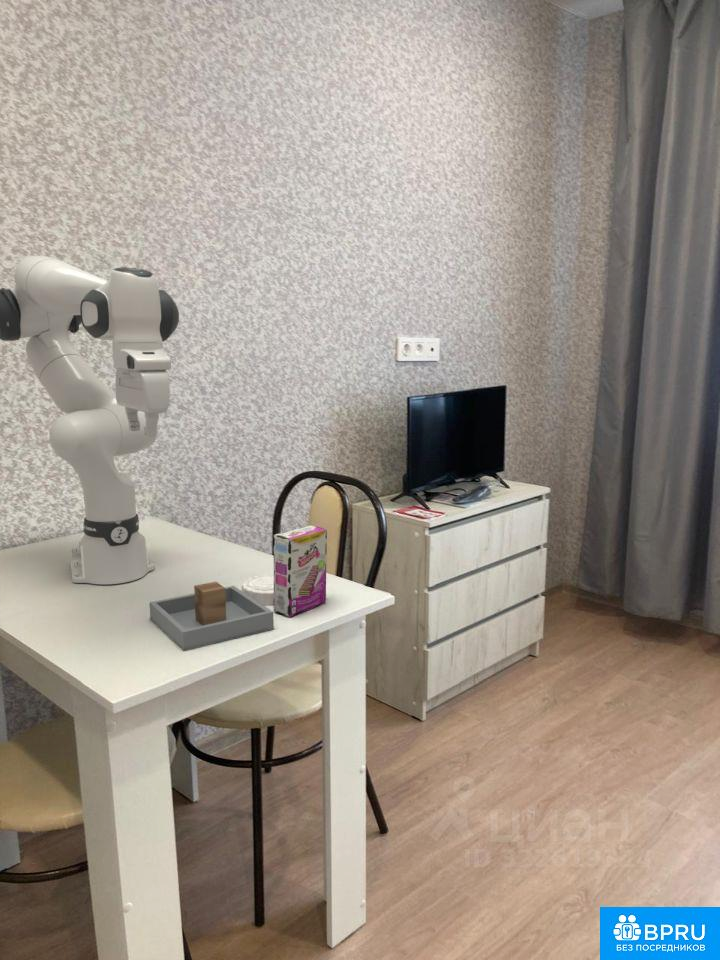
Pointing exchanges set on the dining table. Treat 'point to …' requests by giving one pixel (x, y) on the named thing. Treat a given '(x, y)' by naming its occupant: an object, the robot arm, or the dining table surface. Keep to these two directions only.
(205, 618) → the walnut block
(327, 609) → the dining table surface
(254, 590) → the mooncake
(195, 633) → the tray
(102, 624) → the dining table surface
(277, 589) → the candy bar box
